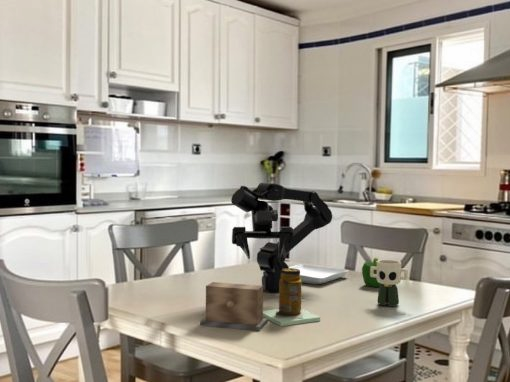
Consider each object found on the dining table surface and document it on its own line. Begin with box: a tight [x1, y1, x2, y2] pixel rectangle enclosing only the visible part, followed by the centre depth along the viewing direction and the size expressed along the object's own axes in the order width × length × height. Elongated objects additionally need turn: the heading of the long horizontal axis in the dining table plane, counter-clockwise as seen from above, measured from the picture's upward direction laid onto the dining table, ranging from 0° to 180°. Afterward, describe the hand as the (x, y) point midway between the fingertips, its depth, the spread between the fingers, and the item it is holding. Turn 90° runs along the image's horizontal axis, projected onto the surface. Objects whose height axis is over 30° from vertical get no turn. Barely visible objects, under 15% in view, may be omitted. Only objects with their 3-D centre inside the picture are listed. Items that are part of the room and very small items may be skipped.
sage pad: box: [263, 308, 321, 327], centre depth 155 cm, size 12×12×1 cm
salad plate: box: [289, 263, 350, 285], centre depth 209 cm, size 21×21×3 cm
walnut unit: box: [199, 281, 269, 332], centre depth 149 cm, size 16×8×10 cm, turn 74°
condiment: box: [275, 268, 304, 318], centre depth 155 cm, size 7×8×12 cm
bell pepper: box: [361, 257, 381, 288], centre depth 197 cm, size 8×8×10 cm
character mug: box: [370, 259, 409, 307], centre depth 170 cm, size 11×7×13 cm, turn 69°
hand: (264, 257), depth 171 cm, fingers open, 9 cm apart
